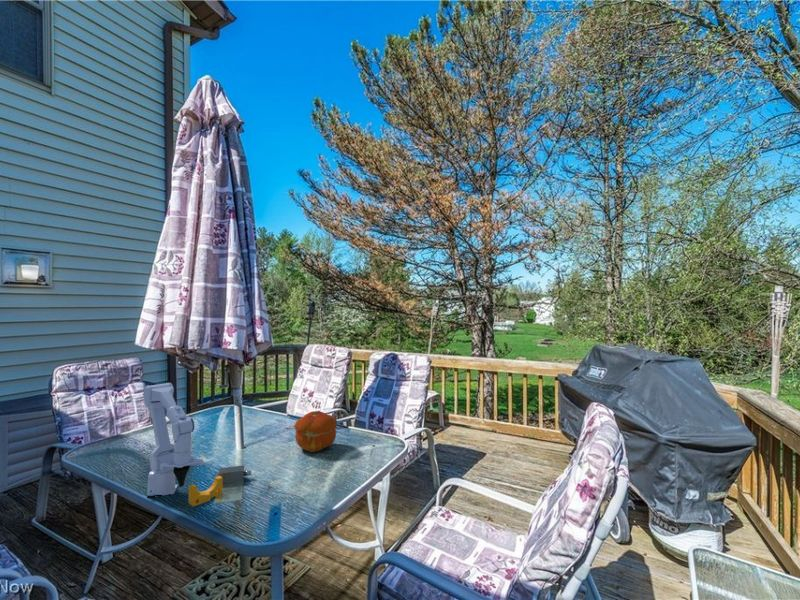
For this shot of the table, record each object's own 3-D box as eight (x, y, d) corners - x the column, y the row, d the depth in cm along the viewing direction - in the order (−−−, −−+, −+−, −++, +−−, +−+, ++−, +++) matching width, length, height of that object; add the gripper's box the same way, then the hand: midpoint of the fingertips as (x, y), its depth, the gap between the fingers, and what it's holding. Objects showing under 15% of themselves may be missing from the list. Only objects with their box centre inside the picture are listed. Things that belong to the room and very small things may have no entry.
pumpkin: (286, 447, 208) (287, 410, 209) (322, 438, 223) (323, 404, 224) (306, 460, 191) (307, 420, 191) (344, 449, 206) (345, 412, 206)
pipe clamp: (193, 506, 145) (193, 489, 145) (188, 502, 148) (188, 486, 148) (224, 494, 154) (224, 478, 155) (219, 491, 157) (219, 475, 157)
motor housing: (213, 503, 148) (214, 490, 148) (219, 479, 168) (219, 468, 168) (249, 498, 152) (250, 486, 152) (251, 475, 173) (251, 464, 173)
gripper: (158, 456, 142) (157, 493, 142) (201, 451, 147) (200, 487, 147) (163, 449, 149) (162, 484, 149) (204, 445, 154) (203, 479, 154)
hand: (181, 485), depth 148 cm, fingers closed
